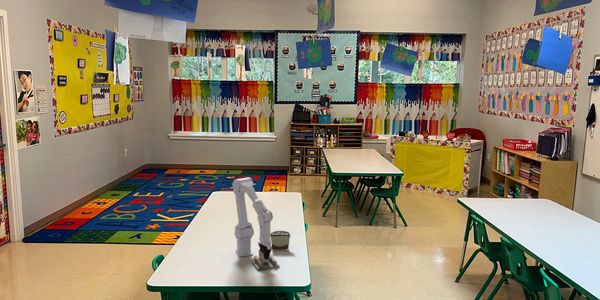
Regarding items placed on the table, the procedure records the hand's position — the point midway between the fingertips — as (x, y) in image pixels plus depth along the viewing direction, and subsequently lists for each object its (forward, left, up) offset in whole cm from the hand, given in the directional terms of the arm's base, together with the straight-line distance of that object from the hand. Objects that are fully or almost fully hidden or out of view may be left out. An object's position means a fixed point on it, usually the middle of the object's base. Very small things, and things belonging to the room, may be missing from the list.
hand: (265, 257), depth 239 cm
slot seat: (0, 0, -4) cm, 4 cm away
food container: (-19, +16, -4) cm, 25 cm away
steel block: (0, 0, -2) cm, 2 cm away
